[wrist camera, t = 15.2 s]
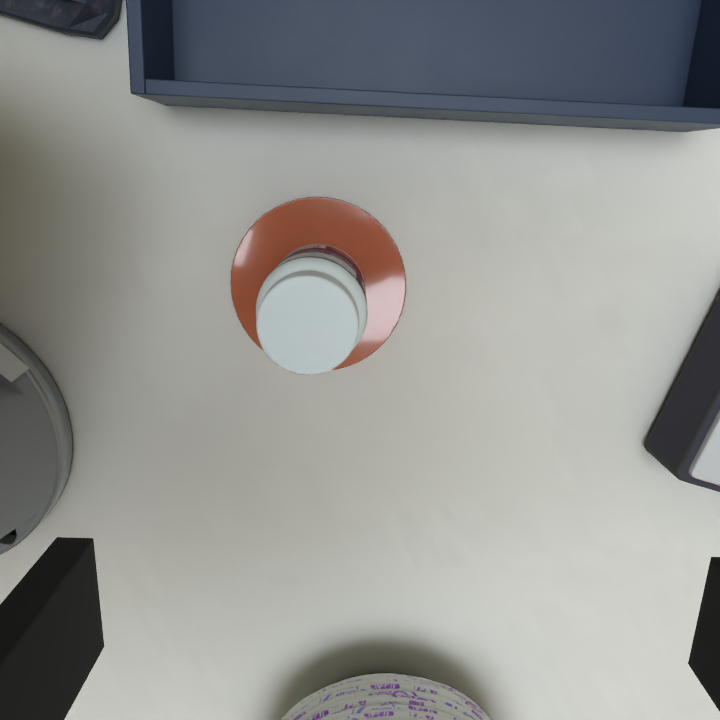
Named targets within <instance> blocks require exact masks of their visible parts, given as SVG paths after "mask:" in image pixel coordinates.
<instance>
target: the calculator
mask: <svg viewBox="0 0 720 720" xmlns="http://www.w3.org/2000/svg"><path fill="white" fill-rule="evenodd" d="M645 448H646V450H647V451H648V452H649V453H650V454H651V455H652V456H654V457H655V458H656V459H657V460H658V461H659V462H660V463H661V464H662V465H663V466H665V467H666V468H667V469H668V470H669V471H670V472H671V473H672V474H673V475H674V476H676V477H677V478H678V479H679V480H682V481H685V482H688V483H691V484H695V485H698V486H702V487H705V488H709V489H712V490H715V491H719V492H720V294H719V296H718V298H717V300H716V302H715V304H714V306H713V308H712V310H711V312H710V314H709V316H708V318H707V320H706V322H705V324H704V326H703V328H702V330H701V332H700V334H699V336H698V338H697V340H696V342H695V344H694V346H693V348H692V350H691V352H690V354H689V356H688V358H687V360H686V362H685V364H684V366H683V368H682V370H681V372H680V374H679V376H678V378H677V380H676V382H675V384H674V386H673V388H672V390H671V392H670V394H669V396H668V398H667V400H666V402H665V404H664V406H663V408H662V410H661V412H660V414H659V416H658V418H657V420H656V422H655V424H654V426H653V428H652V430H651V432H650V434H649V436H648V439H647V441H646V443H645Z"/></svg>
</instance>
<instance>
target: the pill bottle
mask: <svg viewBox="0 0 720 720" xmlns="http://www.w3.org/2000/svg"><path fill="white" fill-rule="evenodd" d="M367 317H368V310H367V301H366V290H365V282H364V278H363V275H362V272H361V270H360V268H359V266H358V265H357V263H356V262H355V261H354V260H353V258H352V257H350V256H349V255H348V254H347V253H346V252H344V251H343V250H341V249H339V248H337V247H334V246H331V245H328V244H309V245H305V246H302V247H300V248H297V249H296V250H294V251H292V252H291V253H290V254H288V255H287V256H286V257H285V258H284V259H283V260H282V261H281V262H280V263H279V265H277V267H276V268H275V269H274V270H273V271H272V272H271V273H270V274H269V275H268V276H267V278H266V279H265V281H264V283H263V285H262V287H261V289H260V291H259V294H258V297H257V302H256V329H257V335H258V339H259V342H260V344H261V346H262V348H263V350H264V352H265V353H266V354H267V356H268V357H269V358H270V359H271V360H272V361H273V362H274V363H276V364H277V365H278V366H280V367H281V368H283V369H285V370H287V371H290V372H292V373H296V374H301V375H316V374H321V373H325V372H327V371H330V370H332V369H334V368H335V367H337V366H338V365H340V364H341V363H342V362H343V361H344V360H345V359H346V358H347V357H348V356H349V354H350V353H351V351H352V350H353V349H354V348H355V347H356V345H357V344H358V342H359V341H360V339H361V337H362V335H363V334H364V332H365V328H366V324H367Z"/></svg>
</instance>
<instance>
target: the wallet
mask: <svg viewBox="0 0 720 720" xmlns="http://www.w3.org/2000/svg"><path fill="white" fill-rule="evenodd" d="M120 6H121V0H0V15H3V16H7V17H10V18H14V19H18V20H21V21H24V22H28V23H31V24H34V25H38V26H41V27H44V28H48V29H51V30H54V31H58V32H61V33H64V34H70V35H77V36H83V37H90V38H97V39H102V38H103V37H104V36H105V35H106V34H107V32H108V31H109V30H110V29H111V28H112V26H113V25H114V24H115V23H116V22H117V20H118V18H119V12H120Z"/></svg>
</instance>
